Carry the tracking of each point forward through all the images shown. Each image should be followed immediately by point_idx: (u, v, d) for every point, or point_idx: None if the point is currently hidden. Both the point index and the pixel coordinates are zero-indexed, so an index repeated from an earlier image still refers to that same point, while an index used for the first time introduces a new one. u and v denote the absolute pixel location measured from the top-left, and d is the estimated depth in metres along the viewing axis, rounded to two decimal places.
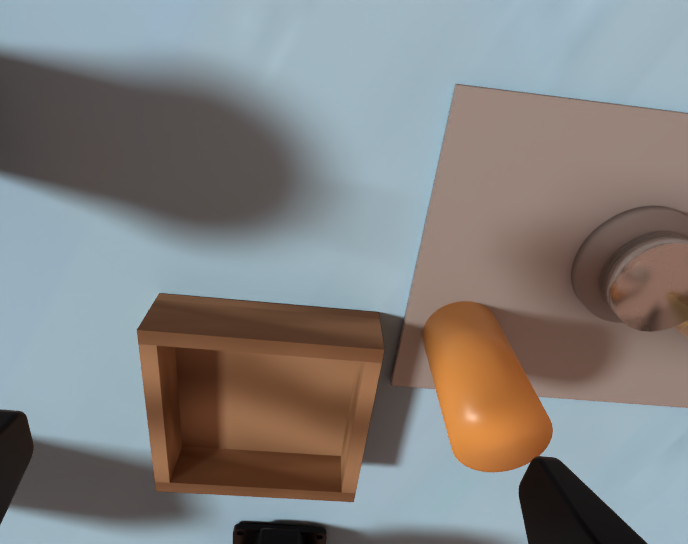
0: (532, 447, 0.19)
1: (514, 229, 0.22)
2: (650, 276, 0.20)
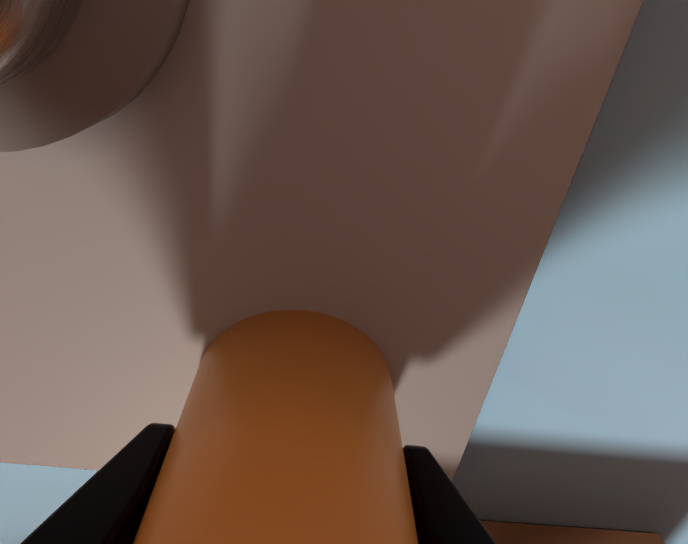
0: None
1: None
2: None
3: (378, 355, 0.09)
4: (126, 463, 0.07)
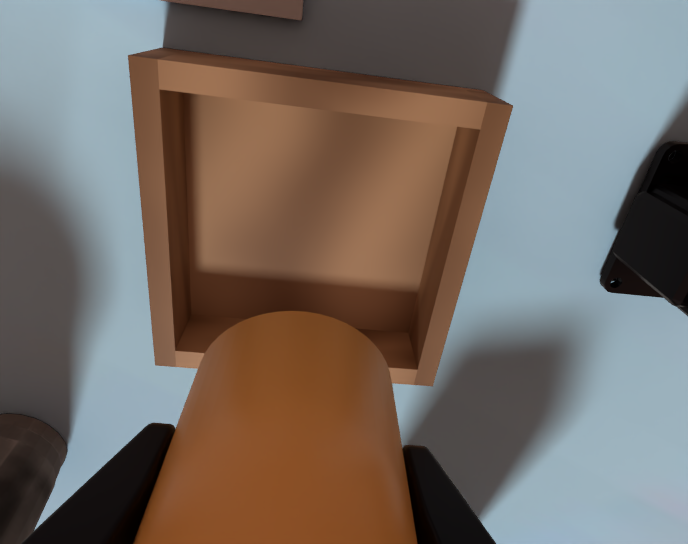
0: None
1: None
2: None
3: (377, 356, 0.09)
4: (126, 463, 0.07)
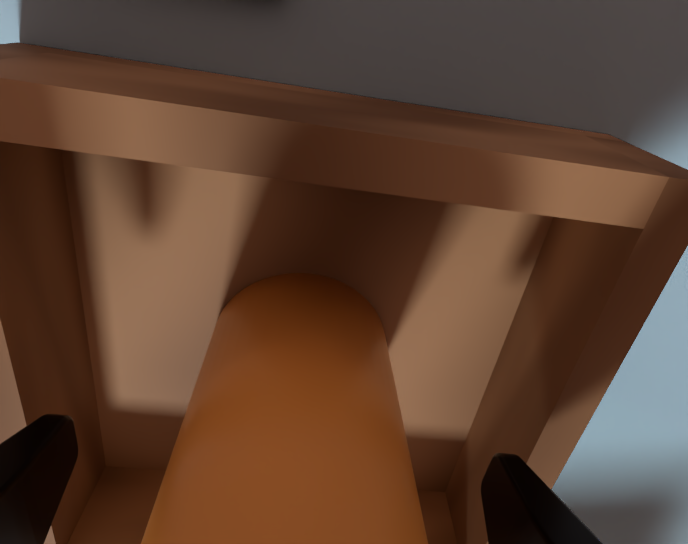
0: None
1: None
2: None
3: (372, 312, 0.10)
4: (5, 453, 0.07)
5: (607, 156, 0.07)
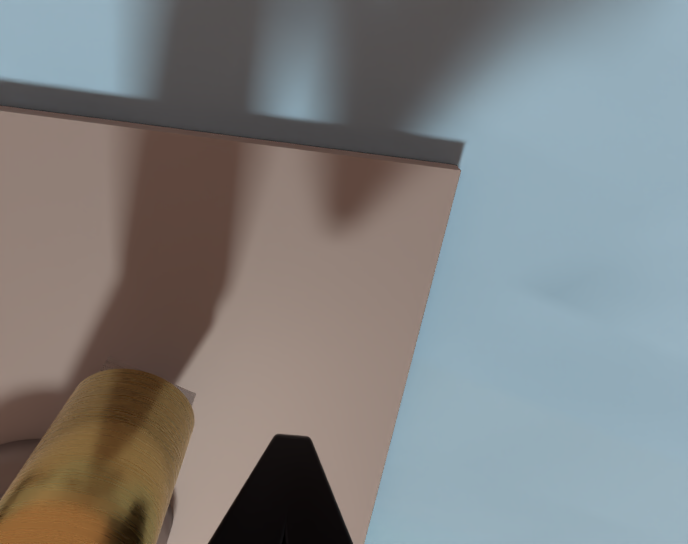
0: None
1: None
2: None
3: None
4: (269, 474, 0.07)
5: None
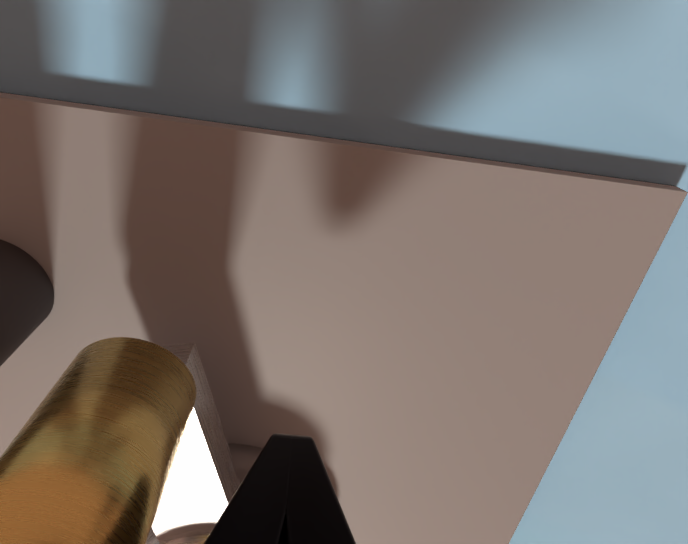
0: None
1: None
2: None
3: None
4: (266, 474, 0.07)
5: None
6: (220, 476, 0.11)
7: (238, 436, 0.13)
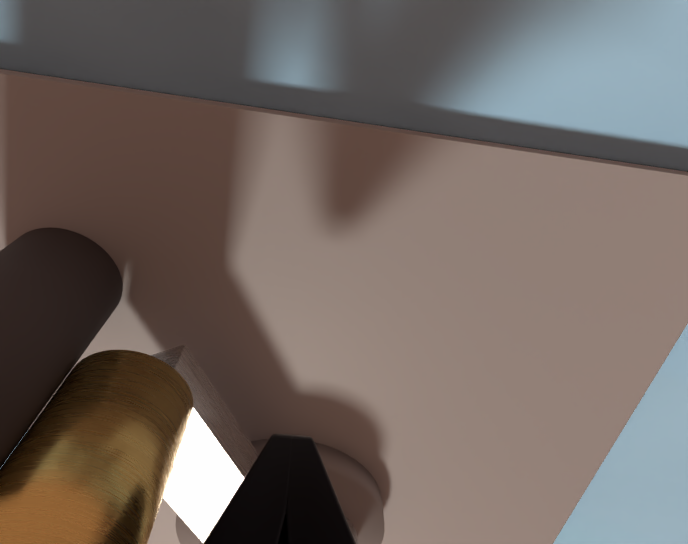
0: None
1: None
2: None
3: None
4: (266, 474, 0.07)
5: None
6: (244, 471, 0.11)
7: (296, 432, 0.13)
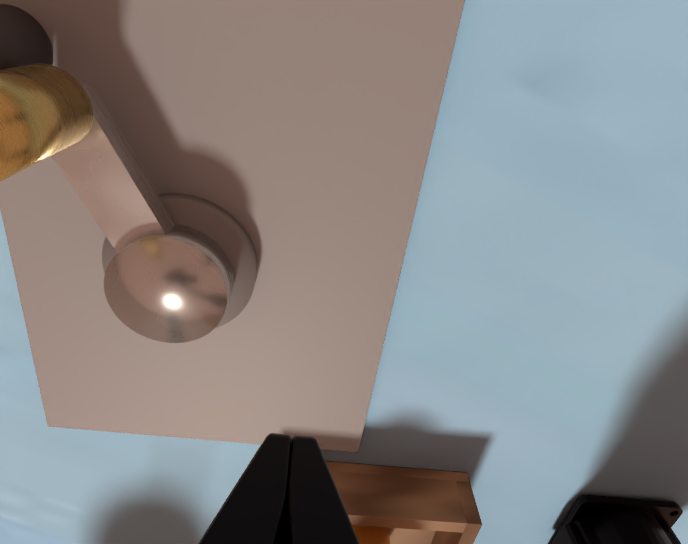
0: None
1: (163, 375, 0.22)
2: (182, 320, 0.18)
3: (384, 528, 0.28)
4: (262, 474, 0.07)
5: (454, 507, 0.25)
6: (134, 179, 0.16)
7: (185, 186, 0.18)
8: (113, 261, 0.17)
